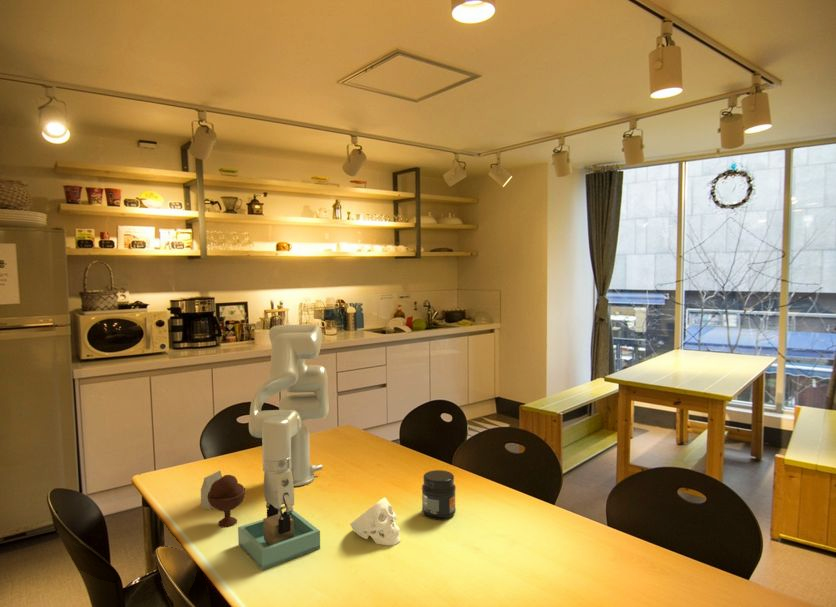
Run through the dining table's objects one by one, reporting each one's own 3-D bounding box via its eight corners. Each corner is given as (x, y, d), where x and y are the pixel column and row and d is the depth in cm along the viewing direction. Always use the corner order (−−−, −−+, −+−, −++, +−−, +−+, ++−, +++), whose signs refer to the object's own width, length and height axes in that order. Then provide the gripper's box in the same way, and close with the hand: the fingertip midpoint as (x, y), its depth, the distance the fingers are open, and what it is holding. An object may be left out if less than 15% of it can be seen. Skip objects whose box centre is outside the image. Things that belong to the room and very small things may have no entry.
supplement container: (460, 509, 167) (460, 472, 166) (448, 523, 157) (448, 484, 156) (430, 503, 171) (429, 467, 170) (416, 517, 161) (416, 478, 161)
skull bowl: (394, 548, 140) (373, 505, 143) (359, 563, 147) (339, 522, 150) (414, 531, 149) (394, 491, 152) (380, 546, 156) (361, 507, 159)
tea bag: (225, 501, 174) (224, 471, 173) (210, 509, 168) (209, 478, 167) (216, 499, 175) (215, 470, 175) (201, 507, 169) (200, 477, 169)
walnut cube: (284, 532, 149) (283, 512, 148) (293, 541, 144) (293, 519, 144) (264, 539, 145) (263, 518, 145) (273, 548, 140) (272, 526, 140)
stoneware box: (293, 526, 156) (292, 510, 156) (320, 548, 143) (319, 530, 143) (238, 544, 146) (238, 527, 145) (262, 570, 133) (261, 551, 133)
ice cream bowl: (254, 517, 162) (252, 469, 161) (230, 534, 151) (228, 483, 151) (225, 512, 165) (224, 465, 165) (200, 528, 155) (198, 479, 154)
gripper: (304, 469, 139) (305, 534, 140) (276, 451, 152) (278, 512, 153) (277, 476, 134) (279, 544, 135) (251, 457, 148) (253, 519, 149)
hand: (278, 526), depth 144 cm, fingers open, 6 cm apart
